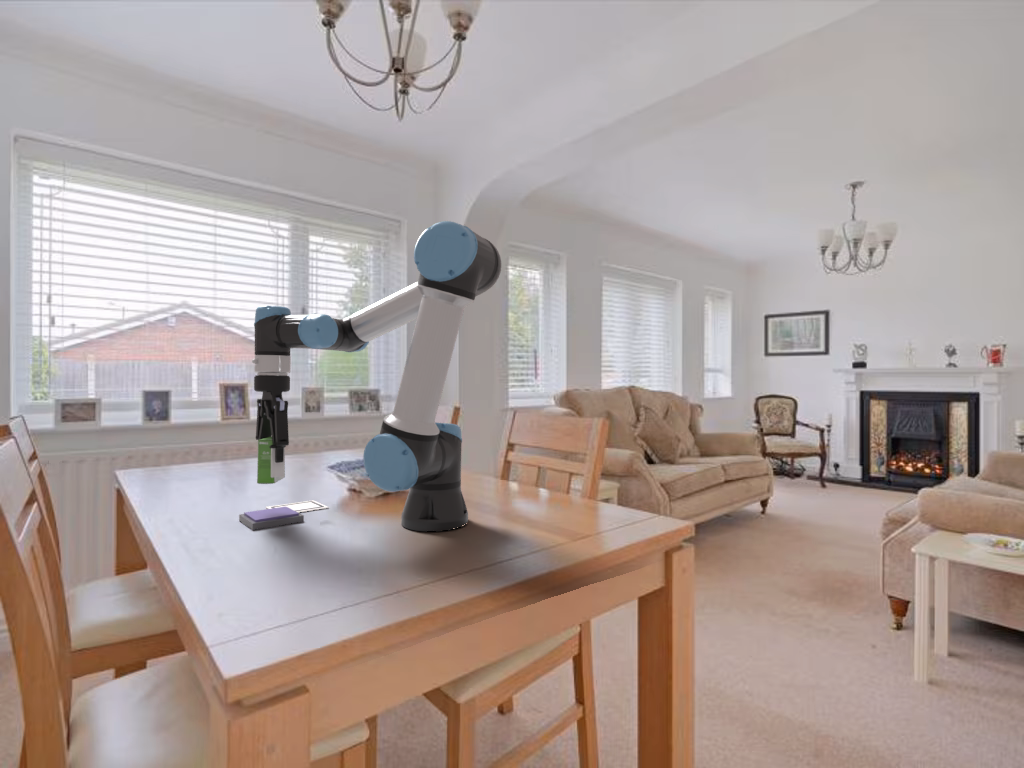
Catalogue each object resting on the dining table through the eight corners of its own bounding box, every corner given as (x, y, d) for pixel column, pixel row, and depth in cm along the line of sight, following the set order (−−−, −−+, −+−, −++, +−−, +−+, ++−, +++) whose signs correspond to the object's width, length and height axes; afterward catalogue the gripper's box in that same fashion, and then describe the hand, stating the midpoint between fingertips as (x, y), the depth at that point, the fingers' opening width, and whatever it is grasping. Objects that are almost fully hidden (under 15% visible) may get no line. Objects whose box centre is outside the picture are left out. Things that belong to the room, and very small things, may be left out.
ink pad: (303, 521, 124) (303, 513, 124) (252, 530, 117) (252, 521, 117) (288, 513, 132) (288, 505, 132) (239, 520, 125) (239, 512, 125)
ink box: (267, 478, 128) (268, 421, 128) (285, 478, 128) (286, 421, 128) (256, 484, 121) (257, 423, 121) (274, 484, 121) (275, 424, 121)
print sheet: (328, 508, 137) (328, 506, 137) (279, 516, 129) (279, 514, 129) (313, 501, 145) (313, 499, 145) (265, 508, 137) (266, 506, 137)
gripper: (241, 373, 129) (240, 469, 130) (270, 374, 114) (268, 483, 114) (274, 374, 134) (273, 466, 135) (305, 375, 119) (304, 478, 119)
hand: (271, 473), depth 124 cm, fingers closed on ink box, 8 cm apart
